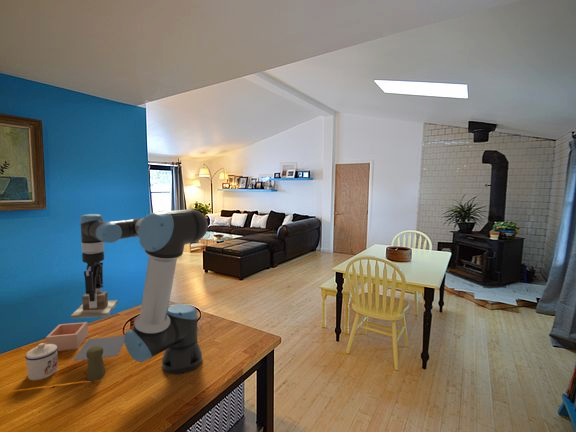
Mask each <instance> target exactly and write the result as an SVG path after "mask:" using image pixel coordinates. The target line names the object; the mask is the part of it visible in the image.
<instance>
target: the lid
mask: <svg viewBox="0 0 576 432" xmlns="http://www.w3.org/2000/svg"><path fill="white" fill-rule="evenodd" d="M108 295H109V294H108V291H101V292H97V308H89V294H86V292H85V293H84V294H83V295H82V297H81V300H82V301H81V302H82V304H81V305H80V306H79V307H78V308H77V309H76V310H75V311H73V313H72V314H71V315H70V319H71V320H72V319H84V318H85V319H86V318H87V319H88V318H97V317H98V318H99V317H108V316H109V315H110V314H111V312H112V311H113V310H114V309H115V307H116V306H117V304H118V303H119V300H118V299H115V300H109V297H108Z"/></svg>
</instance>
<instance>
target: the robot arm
mask: <svg viewBox="0 0 576 432" xmlns="http://www.w3.org/2000/svg"><path fill="white" fill-rule="evenodd" d="M79 226H80V237H81V244H80V247H81V252H82V253H81V258H82V262H83V263H84V264H85V263H86V270H84V271H83V276H84V285H85V286H84V287H85V293H86V294H89V308H97V292H102V288H104V275H103V273H104V271H103V265H104V262H103V261H104V259H105V252H104V250H105V246H104V245H105V244H104V243H107V244H108V243H110V244H111V243H112V244H113V243H116V242H117V241H119V240H123V239H128V238H136V237H138V239H139V240H138V242H139V245H140V246H141V248H143V249H144V252H145V254H146V255H147V256H148V260H147V267H146V273H145V280H144V286H143V287H144V288H143V295H142V302H141V305H140V306H141V307H140V314H139V315H137V317H135V319H134V322H133V328H131V329H129V330H127V331H126V332H125V333H124V335H123V336H124V342H125V343H124V345H125V348H126V351H127V352H128V354H129V355H130V357H131V358H132V359H133V360H134V361H136V362H138V363H143V362H145V361H148V360H151V359H152V358H154V357H155V356H157V355H158V354H160V353H162V352H164V353H163V356H162V359H161V360H162V361H161V367H162V370H163V371H164V372H166V373H168V374H172V375H181V374H186V373H189V372H192V371H193V370H195V369H196V368H198V367H199V366H200V365H201V363H202V361H203V353H202V349H201V347H200V345H199V342H198V317H199V316H198V311H197V308H196V306H195V307H194V306H193V305H190V304H185V303H184V304H182V303H180V304H179V303H177V304H173V305H170V300H171V297H172V289H173V284H174V276H175V271H176V267H177V260H178V259H179V258H180V257H182V255H183V254H184V247H185V245H189V244H193V243H196V242H198V241H200V240H201V239H203V238H204V237H205V236H206V233H208V228H209V223H208V220H207V218H206V216H205V215H204V214H203V213H202V212H201V211H199V210H197V209H196V210H195V209H191V208H189V209H187V208H186V209H178V210H166V211H165V210H161V211H157V212H151V213H148V214H147V215H145V216H144V217H139V218H133V219H122V220H113V221H104V218H103V215H102V214H100V213H99V214H98V213H88V214H82V215H81V216H80V224H79Z"/></svg>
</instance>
